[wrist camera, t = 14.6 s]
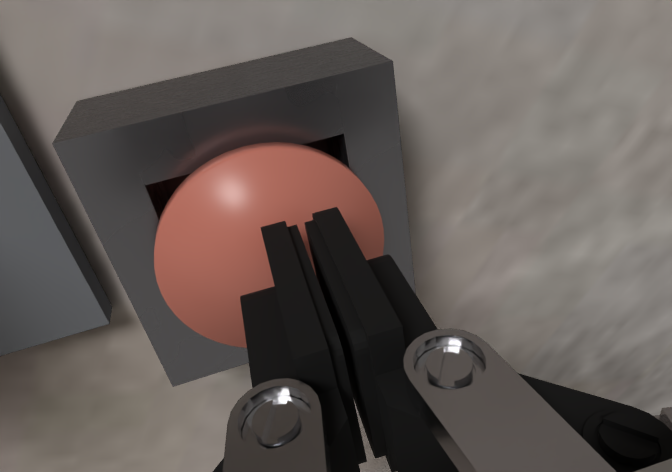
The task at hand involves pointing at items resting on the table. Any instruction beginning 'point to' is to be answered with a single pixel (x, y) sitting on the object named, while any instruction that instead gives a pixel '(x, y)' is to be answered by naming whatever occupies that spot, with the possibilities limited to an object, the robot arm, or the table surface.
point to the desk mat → (39, 256)
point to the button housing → (215, 139)
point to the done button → (248, 228)
